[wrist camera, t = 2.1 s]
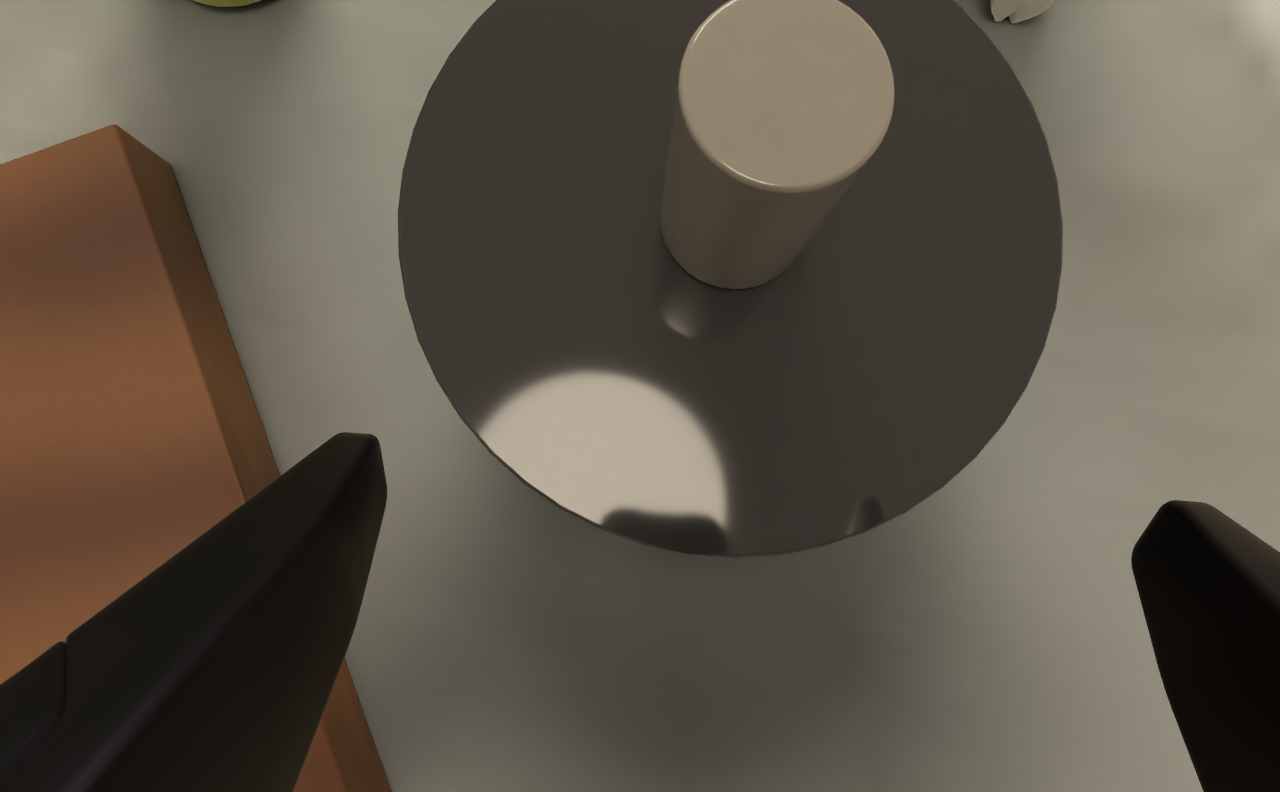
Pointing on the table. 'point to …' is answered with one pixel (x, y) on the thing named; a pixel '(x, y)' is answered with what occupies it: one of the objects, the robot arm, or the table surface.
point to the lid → (730, 258)
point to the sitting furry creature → (1018, 9)
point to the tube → (226, 2)
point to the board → (122, 409)
